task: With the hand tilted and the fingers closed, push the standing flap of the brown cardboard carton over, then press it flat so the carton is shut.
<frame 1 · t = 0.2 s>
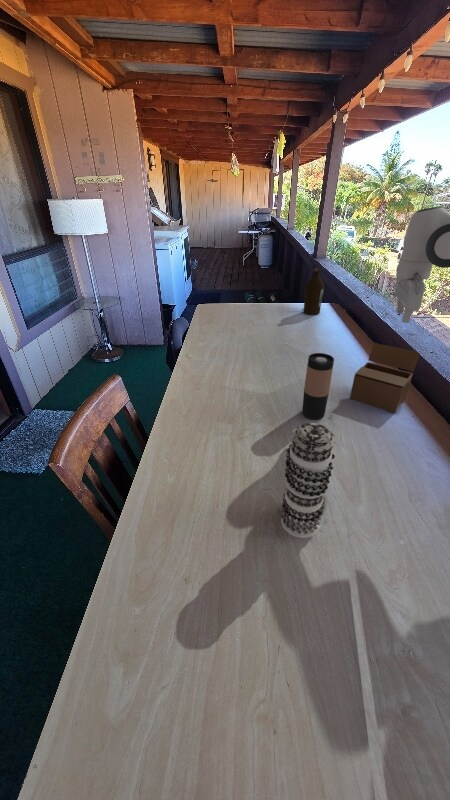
hand: (402, 317, 108), 29 cm above the table, tool pointing down, fingers open, 8 cm apart
travel mug: (313, 414, 115), on the table
carton: (377, 401, 121), on the table
flap: (393, 356, 119), point 14 cm above the table, hinge at 110.0°
olive oil: (311, 313, 209), on the table
decorative candle: (299, 522, 78), on the table
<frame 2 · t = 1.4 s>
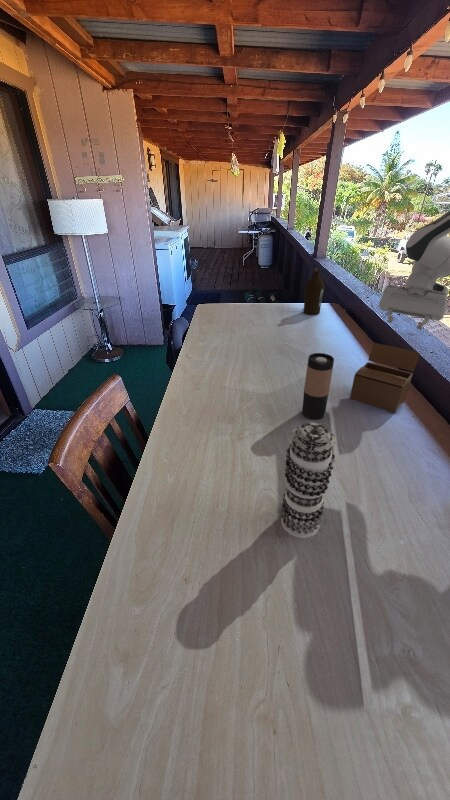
hand: (403, 325, 117), 24 cm above the table, tool tilted 45°, fingers open, 8 cm apart
nothing on the table moved.
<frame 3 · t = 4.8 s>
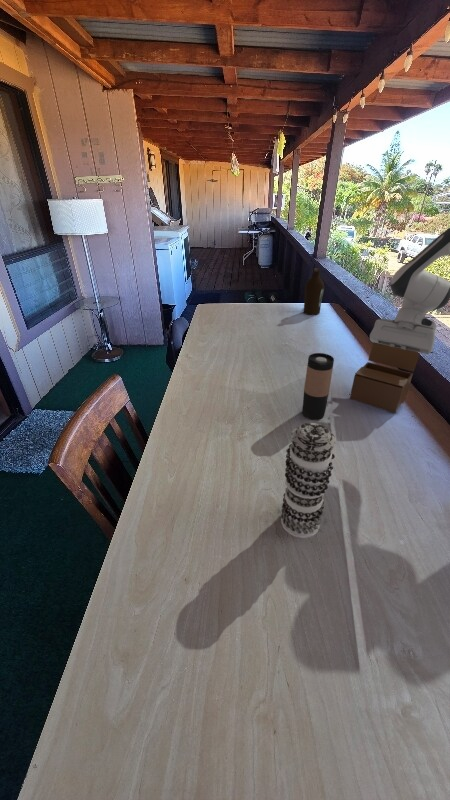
hand: (393, 357, 120), 14 cm above the table, tool tilted 45°, fingers closed, pressing on flap
flap: (392, 356, 119), point 14 cm above the table, hinge at 105.3°, touching gripper
everything else where it was.
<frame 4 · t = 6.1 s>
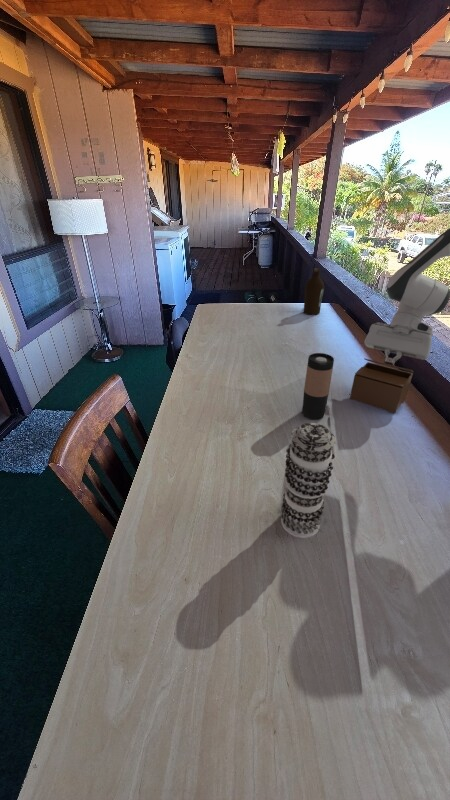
hand: (388, 363, 116), 13 cm above the table, tool tilted 45°, fingers closed
flap: (388, 365, 117), point 12 cm above the table, hinge at 25.5°
everything else where it was.
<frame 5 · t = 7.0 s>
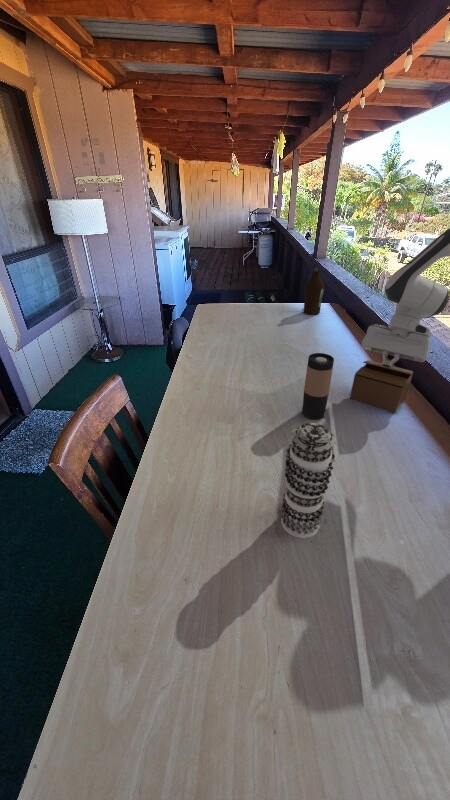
hand: (386, 366, 115), 13 cm above the table, tool tilted 45°, fingers closed
flap: (387, 366, 117), point 12 cm above the table, hinge at 14.9°
everything else where it was.
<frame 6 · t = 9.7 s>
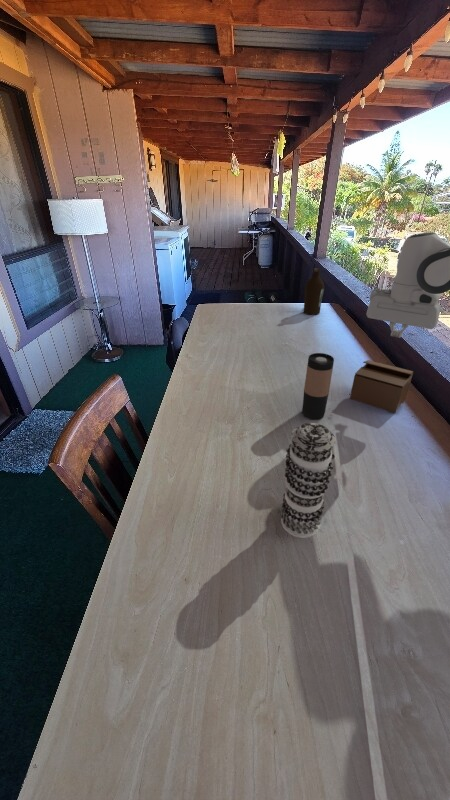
hand: (395, 336, 112), 23 cm above the table, tool pointing down, fingers closed
nothing on the table moved.
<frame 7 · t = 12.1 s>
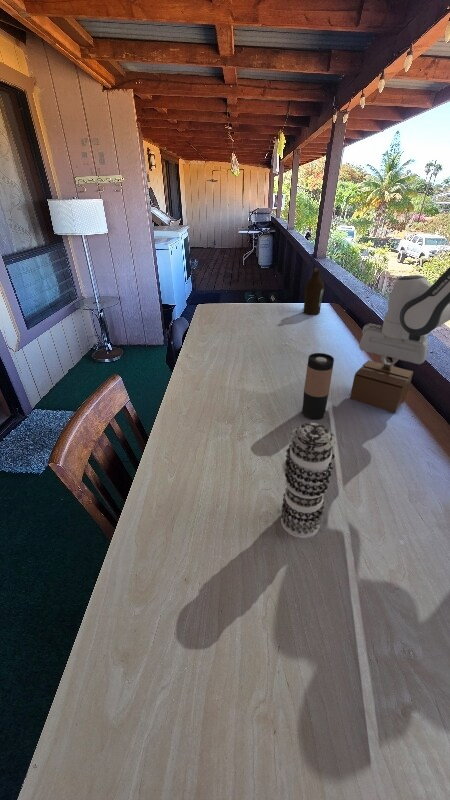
hand: (386, 368, 117), 12 cm above the table, tool pointing down, fingers closed, pressing on flap
flap: (387, 368, 118), point 11 cm above the table, hinge at 3.2°, touching gripper
everything else where it was.
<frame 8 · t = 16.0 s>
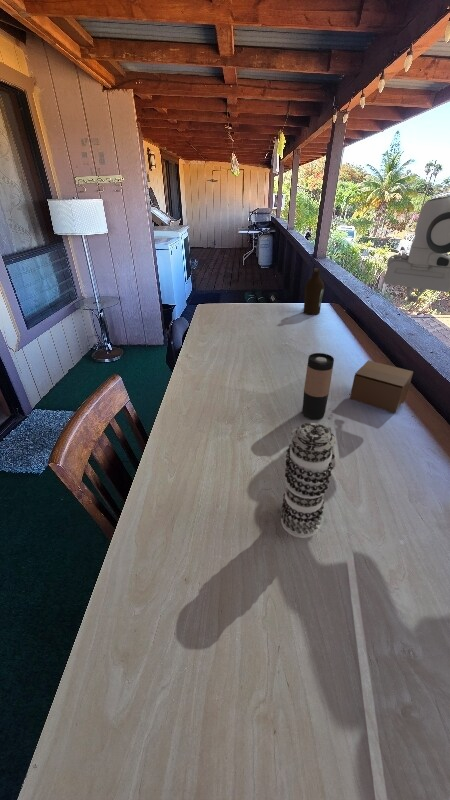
hand: (412, 301, 116), 31 cm above the table, tool pointing down, fingers closed
flap: (387, 369, 118), point 11 cm above the table, hinge at -1.2°
everything else where it was.
at the end: flap at -1° (first picture: +110°) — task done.
